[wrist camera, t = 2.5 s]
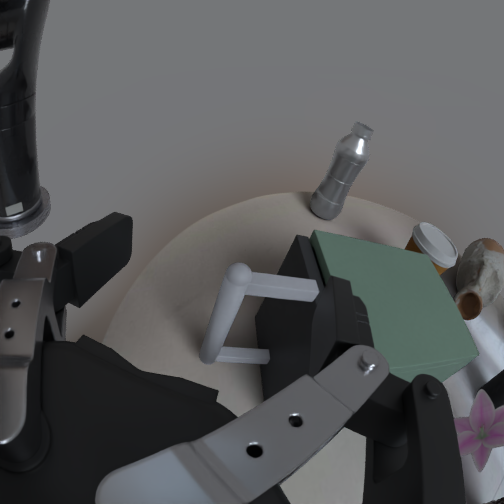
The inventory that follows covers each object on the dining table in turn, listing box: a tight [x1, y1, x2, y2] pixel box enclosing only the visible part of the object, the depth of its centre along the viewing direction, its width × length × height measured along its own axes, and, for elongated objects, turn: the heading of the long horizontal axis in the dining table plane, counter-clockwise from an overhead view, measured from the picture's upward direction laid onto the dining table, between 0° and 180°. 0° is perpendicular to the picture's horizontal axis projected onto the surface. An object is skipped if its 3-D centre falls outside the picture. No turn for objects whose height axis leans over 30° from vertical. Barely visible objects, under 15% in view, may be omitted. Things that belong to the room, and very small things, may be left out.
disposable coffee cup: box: [404, 222, 458, 275], centre depth 45 cm, size 10×10×12 cm
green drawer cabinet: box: [309, 230, 479, 383], centre depth 28 cm, size 16×14×14 cm
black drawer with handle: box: [199, 235, 326, 401], centre depth 27 cm, size 22×14×15 cm, turn 96°
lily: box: [454, 389, 504, 472], centre depth 24 cm, size 12×12×10 cm
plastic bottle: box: [310, 122, 373, 220], centre depth 52 cm, size 6×7×20 cm
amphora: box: [454, 238, 504, 320], centre depth 51 cm, size 14×16×30 cm
